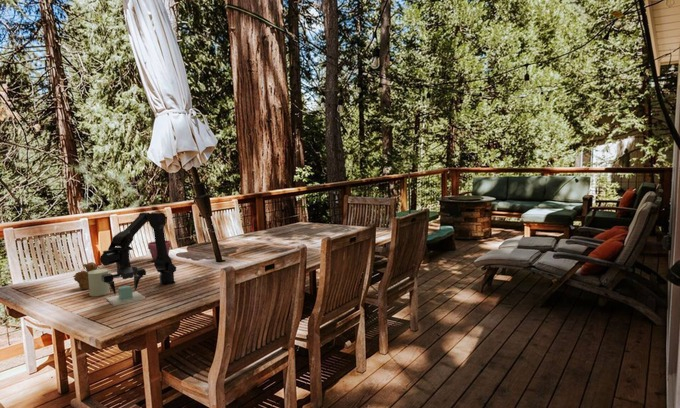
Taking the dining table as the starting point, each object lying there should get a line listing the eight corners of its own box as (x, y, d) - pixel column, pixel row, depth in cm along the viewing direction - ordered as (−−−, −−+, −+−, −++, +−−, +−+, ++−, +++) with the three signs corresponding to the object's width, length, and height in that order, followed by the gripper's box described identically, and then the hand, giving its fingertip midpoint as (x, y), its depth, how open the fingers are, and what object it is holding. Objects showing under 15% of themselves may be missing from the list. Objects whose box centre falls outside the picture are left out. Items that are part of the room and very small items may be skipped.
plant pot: (150, 259, 290) (149, 241, 289) (172, 257, 295) (171, 239, 293) (147, 264, 277) (146, 244, 275) (170, 262, 281) (169, 243, 280)
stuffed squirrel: (108, 284, 232) (106, 260, 230) (86, 292, 218) (84, 267, 217) (93, 283, 234) (91, 260, 233) (71, 290, 221) (69, 266, 220)
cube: (129, 295, 209) (129, 285, 208) (132, 297, 205) (132, 287, 204) (118, 297, 205) (118, 287, 205) (121, 299, 202) (120, 289, 201)
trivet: (136, 292, 215) (136, 291, 215) (145, 299, 204) (145, 297, 204) (106, 299, 206) (106, 297, 206) (113, 306, 195) (113, 304, 195)
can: (91, 291, 218) (89, 269, 217) (111, 289, 221) (109, 267, 220) (87, 297, 209) (85, 273, 208) (108, 294, 213) (106, 271, 211)
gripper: (105, 267, 191) (108, 300, 193) (148, 260, 203) (150, 291, 205) (99, 263, 199) (102, 295, 201) (141, 256, 212) (143, 286, 213)
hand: (125, 292), depth 205 cm, fingers open, 9 cm apart
